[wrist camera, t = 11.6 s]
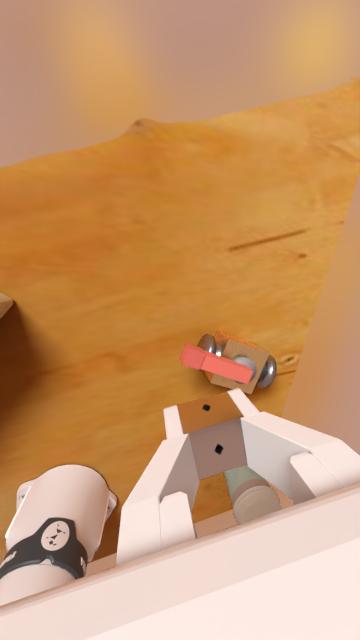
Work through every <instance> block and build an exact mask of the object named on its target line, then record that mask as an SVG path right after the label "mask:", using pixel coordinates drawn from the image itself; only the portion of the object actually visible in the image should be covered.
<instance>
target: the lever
mask: <svg viewBox="0 0 360 640" xmlns="http://www.w3.org/2000/svg"><path fill="white" fill-rule="evenodd" d="M180 360H181V362H182V365H185V366H188V367H191V368H194V369H197V370H199V369H203V370H206V371H209V372H212V373H215V374H218V375H221V376H224V377H227V378H230V379H233V380H234V381H235V382H236V383H238V384H248V383H249V382H251V381H252V380H253V379H254V378H255V376H256V373H257V367H256V364H255V363H254V362H253V361H252V360H251V359H249V358H248V357H244V356H241V357H237V358H235V359H234V360H230V359H227V358H224V357H222V356H219V355H216V354H213V353H210V352H207V351H205V350H203V349H202V348H200V347H197V346H194V345H191V344H189V343H186V345H185V347H184V349H183V352H182V354H181V356H180Z"/></svg>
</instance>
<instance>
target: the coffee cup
mask: <svg viewBox="0 0 360 640" xmlns="http://www.w3.org/2000/svg"><path fill="white" fill-rule="evenodd" d="M224 475H225V479H226V483H227V486H228V490H229V494H230V498H231V501H232V505H233V515H234V517H235V519H236V521H237V523H238V524H241V523H244V522H246V521H249V520H252V519H255V518H258V517H261V516H264V515H267V514H270V513H273V512H276V511H279V510H282V509H281V506H280V500H279V498H278V495H277V493H276V492H275V491H274V490H273V489H272V488H270V486H269V485H268V483H267V482H266V480H265V479H264V478H263V477H261V476H260V475H259V474H257V473H256V472H255V471H253V470H252V469H251V468H249V467H248V465H246V466H242V467H239V468H235V469H232V470H228V471H224Z"/></svg>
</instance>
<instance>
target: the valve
mask: <svg viewBox="0 0 360 640" xmlns="http://www.w3.org/2000/svg"><path fill="white" fill-rule="evenodd" d="M197 347H200V348H202V349H203V350H205V351H207V352H210V353H213V354H216V355H219V356H222V357H224V358H227V359H230V360H234V359H235V358H237V357H241V356H244V357H248V358H249V359H251V360H252V361H253V362H254V363H255V364H256V367H257V373H256V376H255V378H254V379H253V380H252V381H251V382H249V383H248V384H238V383H236V382H235V381H234V380H233V379H230V378H227V377H224V376H221V375H218V374H215V373H212V372H209V371H206V370H203V369H199V370H200V371H204V373H205V374H206V376H207V378H208V379H209V381H210V383H213V384H216V385H220V386H223V387H227V388H230V389H236V388H239V389H241V390H242V392H245V393H248V394H252V392H253V390H254V387H258V388H262V389H264V388H267V387H268V386H270V385H271V383H272V382H273V380H274V378H275V375H276V362H275V359H274V358H273V357H272V356H271V355H269V354H270V353H269V352H267V351H265V350H264V349H262V348H261V347H259V346H258V345H256V344H255V343H253V342H250V341H247V340H244V339H241V338H238V337H235V336H232V335H229V334H227V333H224V332H221V331H218V330H217V331H216V334H215V336H214V337H213V336H211V335H208V334H205V335H204V336H203V337H202V338H201V340H200V342H199V344H198V346H197Z"/></svg>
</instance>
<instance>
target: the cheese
mask: <svg viewBox="0 0 360 640" xmlns="http://www.w3.org/2000/svg"><path fill="white" fill-rule="evenodd" d="M12 305H13V300H12V299H11V298H10V297H8V296H7V295H5V294H3V293H1V292H0V319H1V318H2V317H3V316H4V314H5V313H6V312H7V311H8V310H9V309H10V307H11V306H12Z"/></svg>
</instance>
